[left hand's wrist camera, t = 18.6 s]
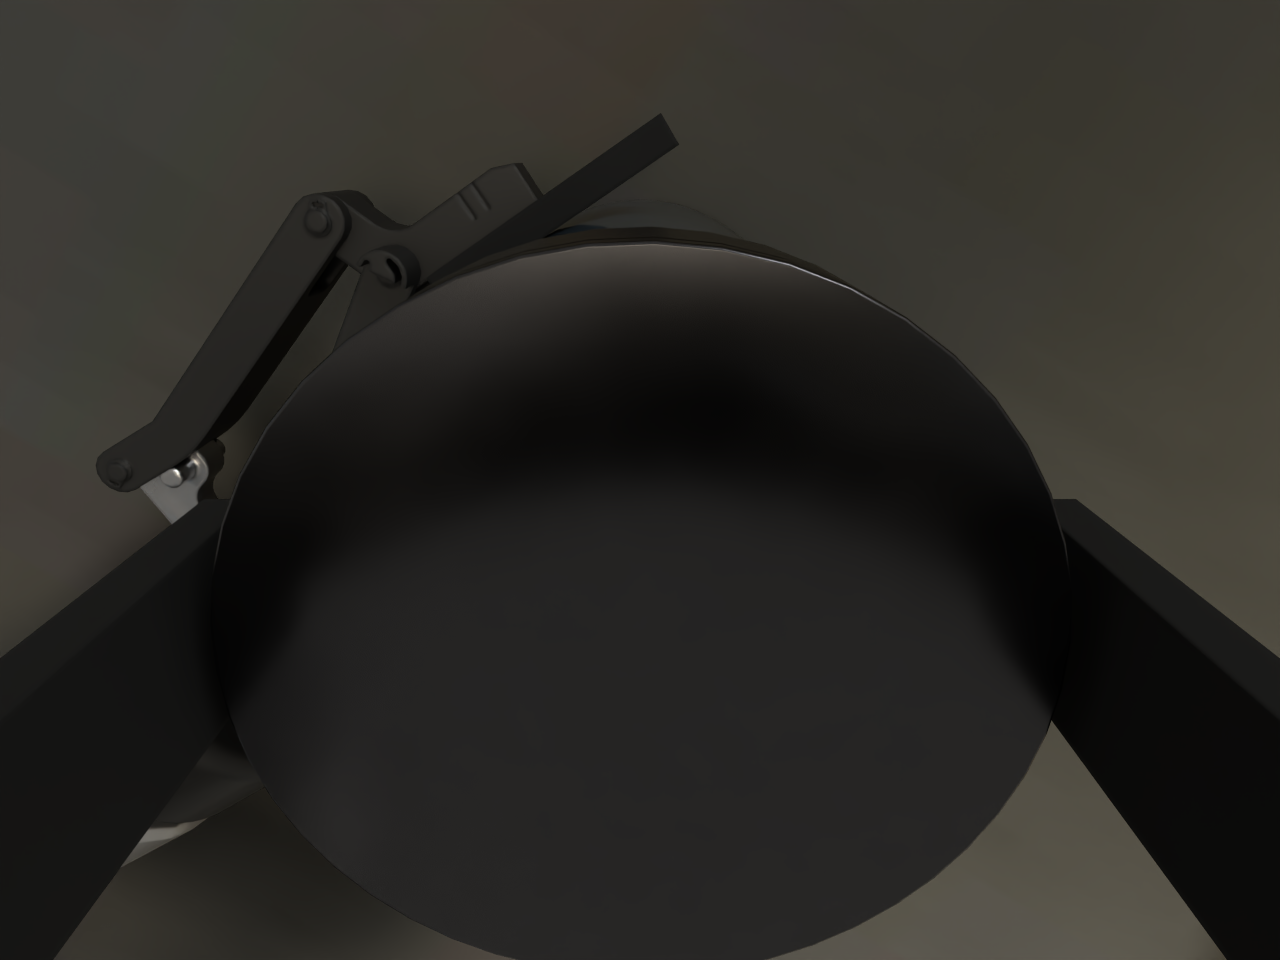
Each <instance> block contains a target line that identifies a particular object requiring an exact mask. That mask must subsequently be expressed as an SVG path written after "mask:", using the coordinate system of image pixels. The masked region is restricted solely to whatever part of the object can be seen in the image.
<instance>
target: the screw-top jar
mask: <svg viewBox="0 0 1280 960" xmlns="http://www.w3.org/2000/svg"><path fill="white" fill-rule="evenodd" d="M629 227H663V228H673V229H684V230H694V231H705V232H712V233H716V234H720V235H724V236H729V237H733V238H737V239H741V240H744V239H743V238H741V237H740V236H739V235H737V234H736V233H735V232H733V231H732V230H731V229H729V228H728V227H726V226H725V225H723V224H722V223H720V222H719V221H717V220H715V219H713V218H711V217H709V216H707V215H705V214H703V213H701V212H699V211H697V210H694V209H691V208H688V207H685V206H682V205H679V204H673V203H668V202H663V201H655V200H628V201H617V202H612V203H608V204H604V205H600V206H596V207H593V208H590V209H588V210H585V211H583V212H580V213H579V214H577V215H576V216H574V217H573V218H572V219H570V220H569V221H567V222H566V223H564V224H563V225H561V226H560V227H559V228H557V229H556V230H554V231H553V232H551V233H550V234H548V235H547V236H545V237H544V238H548V237H553V236H559V235H564V234H570V233H575V232H581V231H586V230H592V229H605V228H629Z"/></svg>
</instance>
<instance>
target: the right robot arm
mask: <svg viewBox="0 0 1280 960" xmlns="http://www.w3.org/2000/svg"><path fill="white" fill-rule="evenodd" d="M678 145H679V144H678V142H677V140H676V139H675V137H674V135H673V133H672V132H671V130H670V128H669V126H668V125H667V123H666V121H665V120H664V118H663V116H662V114H661V113H660V114H659V115H657V116H656V117H655V118H653V119H652V120H650V121H649V122H647V123H646V124H645V125H643V126H642V127H640V128H639V129H638V130H636V131H635V132H633V133H632V134H630V135H629V136H628V137H626V138H625V139H623V140H622V141H620V142H619V143H618V144H616V145H615V146H613V147H612V148H610V149H609V150H608V151H606V152H605V153H603V154H602V155H600V156H599V157H598V158H596V159H595V160H593V161H592V162H591V163H589V164H588V165H586V166H585V167H583V168H582V169H581V170H579V171H578V172H576V173H575V174H573V175H572V176H571V177H569V178H568V179H566V180H565V181H563V182H562V183H561V184H559V185H558V186H556V187H555V188H553V189H552V190H551V191H549V192H548V193H546V194H545V195H544V196H543V194H542V193H541V191H540V190H539V188H538V187H537V185H536V183H535V182H534V180H533V179H532V177H531V176H530V174H529V173H528V171H527V170H526V168H525V167H524V165H523V163H513V164H508V165H504V166H499V167H494V168H491V169H489V170H488V171H487V172H485V173H484V174H482V175H481V176H480V177H478V178H477V179H475V180H474V181H473V182H472V183H470V184H469V185H467V186H466V187H464V188H463V189H462V190H460V191H459V192H458V193H456V194H455V195H453V196H452V197H451V198H449V199H448V200H446V201H445V202H444V203H442V204H441V205H439V206H438V207H437V208H435V209H434V210H433V211H431V212H430V213H428V214H427V215H426V216H424V217H423V218H421V219H420V220H419V221H417V222H416V223H415V224H413V225H412V226H405V225H402V224H398V223H396V222H395V221H393V220H391V219H390V218H388V217H387V216H385V215H384V214H383V213H381V212H380V211H379V210H377V209H376V208H375V207H374V206H373V203H372V202H371V201H370V200H369V199H368V197H367V196H366V195H364V194H362V193H360V192H358V191H353V190H343V191H333V192H324V193H315V194H310V195H307V196H304V197H302V198H301V199H300V200H299V201H298V202H297V203H296V204H295V206H294V207H293V209H292V210H291V212H290V213H289V215H288V216H287V218H286V219H285V221H284V223H283V224H282V226H281V227H280V229H279V230H278V232H277V233H276V235H275V236H274V238H273V239H272V241H271V242H270V244H269V245H268V247H267V248H266V250H265V251H264V253H263V254H262V256H261V257H260V259H259V261H258V262H257V264H256V265H255V267H254V268H253V270H252V271H251V273H250V274H249V276H248V277H247V279H246V280H245V282H244V283H243V285H242V286H241V288H240V289H239V291H238V292H237V294H236V295H235V297H234V299H233V300H232V302H231V303H230V305H229V306H228V308H227V309H226V311H225V312H224V314H223V315H222V317H221V318H220V320H219V321H218V323H217V324H216V326H215V327H214V329H213V330H212V332H211V333H210V335H209V337H208V338H207V340H206V341H205V343H204V344H203V346H202V347H201V349H200V350H199V352H198V353H197V355H196V356H195V358H194V359H193V361H192V362H191V364H190V365H189V367H188V368H187V370H186V371H185V373H184V375H183V376H182V378H181V379H180V381H179V382H178V384H177V385H176V387H175V388H174V390H173V391H172V393H171V394H170V396H169V397H168V399H167V400H166V402H165V403H164V405H163V406H162V408H161V409H160V411H159V413H158V414H157V416H156V417H155V419H154V420H153V421H152V422H151V423H149V424H148V425H146V426H144V427H143V428H141V429H140V430H138V431H136V432H135V433H133V434H131V435H130V436H128V437H127V438H125V439H123V440H122V441H120V442H119V443H117V444H115V445H114V446H112V447H110V448H109V449H107V450H106V451H104V452H103V453H102V454H101V455H100V456H99V457H98V459H97V463H96V469H97V474H98V475H99V477H100V479H101V480H102V482H104V483H105V484H106V485H107V486H108V487H109V488H111V489H114V490H116V491H119V492H130V491H133V490H136V489H138V488H139V487H140V488H141V489H142V490H143V491H144V492H145V494H146V495H147V496H148V497H149V498H150V499H151V501H152V502H153V503H154V504H155V505H156V506H157V507H158V509H159V510H160V511H161V512H162V513H163V514H164V516H165V517H166V518H167V519H168V520H169V521H170V523H171V524H173V523H174V522H175V521H177V520H178V519H179V518H181V517H182V516H183V515H184V514H186V513H187V512H188V511H189V510H191V509H192V508H193V507H195V506H196V505H197V504H198V503H200V502H201V501H202V500H204V499H218V498H217V496H216V495H215V493H214V489H213V481H214V478H215V476H216V475H217V474H218V473H219V472H220V470H221V469H222V468H223V465H224V453H225V446H224V444H223V443H222V442H221V441H220V440H218V439H216V438H218V437H219V436H220V435H222V434H223V433H225V432H226V431H228V430H229V429H230V428H231V427H232V426H233V425H234V424H235V423H236V422H237V421H238V420H239V419H240V418H241V417H242V415H243V414H244V413H245V412H246V411H247V409H248V408H249V406H250V405H251V404H252V402H253V401H254V399H255V398H256V396H257V395H258V394H259V392H260V391H261V389H262V388H263V386H264V385H265V384H266V382H267V381H268V379H269V378H270V376H271V375H272V374H273V372H274V371H275V369H276V368H277V366H278V365H279V364H280V362H281V361H282V359H283V358H284V356H285V355H286V354H287V352H288V351H289V349H290V348H291V346H292V345H293V344H294V342H295V341H296V339H297V338H298V336H299V335H300V334H301V332H302V331H303V329H304V328H305V326H306V325H307V324H308V322H309V321H310V319H311V318H312V316H313V315H314V314H315V312H316V311H317V309H318V308H319V306H320V305H321V304H322V302H323V301H324V299H325V298H326V296H327V295H328V294H329V292H330V291H331V289H332V288H333V286H334V285H335V284H336V282H337V281H338V279H339V278H340V276H341V275H342V274H343V272H344V271H345V269H346V268H347V266H348V265H349V266H350V267H352V268H353V269H355V270H356V271H357V272H359V273H360V274H361V275H360V278H359V281H358V284H357V286H356V289H355V292H354V295H353V297H352V300H351V303H350V306H349V308H348V311H347V314H346V316H345V319H344V322H343V325H342V327H341V330H340V333H339V336H338V338H337V341H336V344H335V346H334V349H333V351H334V350H336V349H337V348H338V347H339V346H340V345H341V344H342V343H343V342H344V341H345V340H346V339H348V338H349V337H351V336H352V335H354V334H355V333H357V332H358V331H359V330H361V329H362V328H364V327H365V326H367V325H368V324H370V323H371V322H373V321H374V320H376V319H377V318H378V317H380V316H381V315H383V314H384V313H386V312H387V311H389V310H390V309H392V308H393V307H394V306H396V305H397V304H399V303H401V302H402V301H404V300H406V299H407V298H409V297H411V296H412V295H414V294H416V293H417V292H419V291H421V290H422V289H424V288H426V287H427V286H429V285H431V284H432V283H434V282H436V281H437V280H439V279H441V278H443V277H445V276H447V275H449V274H451V273H454V272H456V271H458V270H460V269H462V268H464V267H466V266H468V265H470V264H472V263H474V262H476V261H478V260H480V259H482V258H484V257H486V256H489V255H492V254H495V253H498V252H501V251H504V250H507V249H510V248H513V247H516V246H519V245H523V244H526V243H529V242H532V241H535V240H538V239H542V238H544V237H545V236H547V235H548V234H550V233H551V232H553V231H554V230H556V229H557V228H559V227H560V226H561V225H563V224H564V223H566V222H567V221H569V220H570V219H572V218H573V217H574V216H576V215H577V214H579V213H580V212H582V211H583V210H585V209H586V208H588V207H589V206H590V205H592V204H593V203H595V202H596V201H598V200H599V199H601V198H602V197H604V196H605V195H606V194H608V193H609V192H611V191H612V190H614V189H615V188H617V187H618V186H619V185H621V184H622V183H624V182H625V181H627V180H628V179H630V178H631V177H633V176H634V175H635V174H637V173H638V172H640V171H641V170H643V169H644V168H646V167H647V166H649V165H650V164H651V163H653V162H654V161H656V160H657V159H659V158H660V157H662V156H663V155H664V154H666V153H667V152H669V151H670V150H672V149H673V148H675V147H676V146H678ZM264 787H265V786H264V785H263V783H262V781H261V780H260V778H259V776H258V775H257V773H256V772H255V770H254V768H253V767H252V765H251V763H250V762H249V760H248V758H247V756H246V754H245V751H244V749H243V747H242V745H241V742H240V740H239V738H238V736H237V733H236V731H235V729H234V727H233V724H232V722H231V720H230V719H229V720H228V721H227V723H226V724H225V726H224V727H223V728H222V730H221V731H220V732H219V734H218V735H217V736H216V738H215V739H214V741H213V742H212V743H211V745H210V746H209V747H208V749H207V750H206V751H205V753H204V754H203V756H202V757H201V758H200V760H199V761H198V762H197V764H196V765H195V766H194V768H193V769H192V771H191V772H190V773H189V775H188V776H187V777H186V779H185V780H184V781H183V783H182V784H181V786H180V787H179V788H178V790H177V791H176V792H175V794H174V795H173V796H172V798H171V799H170V801H169V802H168V803H167V805H166V806H165V807H164V809H163V810H162V812H161V813H160V814H159V816H158V817H157V818H156V820H155V821H154V822H153V824H152V825H151V827H150V828H149V829H148V831H147V832H146V833H145V835H144V836H143V837H142V839H141V840H140V842H139V843H138V844H137V846H136V847H135V848H134V850H133V851H132V852H131V854H130V855H129V857H128V858H127V859H126V861H125V862H124V863H123V865H122V866H121V867H123V866H125V865H126V864H128V863H130V862H132V861H134V860H136V859H138V858H140V857H142V856H143V855H145V854H147V853H149V852H151V851H153V850H155V849H157V848H158V847H160V846H162V845H164V844H166V843H168V842H170V841H172V840H173V839H175V838H177V837H179V836H181V835H183V834H185V833H187V832H188V831H190V830H192V829H194V828H195V827H196V826H198V825H199V824H200V823H202V822H203V821H204V820H206V819H207V818H209V817H211V816H214V815H216V814H218V813H220V812H222V811H223V810H225V809H227V808H229V807H231V806H232V805H234V804H236V803H238V802H239V801H241V800H243V799H245V798H246V797H248V796H250V795H252V794H253V793H255V792H257V791H259V790H261V789H262V788H264ZM121 867H120V868H121Z"/></svg>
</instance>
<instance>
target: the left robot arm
mask: <svg viewBox="0 0 1280 960" xmlns="http://www.w3.org/2000/svg"><path fill="white" fill-rule="evenodd" d="M1053 501H1054V505H1055V508H1056V511H1057V515H1058V518H1059V522H1060V525H1061V528H1062V532H1063V535H1064V539H1065V542H1066V549H1067V557H1068V565H1069V572H1070V580H1071V588H1072V617H1071V644H1070V649H1069V655H1068V660H1067V665H1066V671H1065V676H1064V681H1063V686H1062V691H1061V694H1060V697H1059V700H1058V702H1057V705H1056V708H1055V711H1054V714H1053V717H1052V721H1053V723H1054V724H1055V726H1056V727H1057V728H1058V730H1059V731H1060V732H1061V734H1062V735H1063V736H1064V738H1065V739H1066V741H1067V742H1068V743H1069V745H1070V746H1071V747H1072V749H1073V750H1074V751H1075V753H1076V754H1077V756H1078V757H1079V758H1080V760H1081V761H1082V762H1083V764H1084V765H1085V766H1086V768H1087V769H1088V771H1089V772H1090V773H1091V775H1092V776H1093V777H1094V779H1095V780H1096V781H1097V783H1098V784H1099V786H1100V787H1101V788H1102V790H1103V791H1104V792H1105V794H1106V795H1107V797H1108V798H1109V799H1110V801H1111V802H1112V803H1113V805H1114V806H1115V807H1116V809H1117V810H1118V812H1119V813H1120V814H1121V816H1122V817H1123V818H1124V820H1125V821H1126V822H1127V824H1128V825H1129V827H1130V828H1131V829H1132V831H1133V832H1134V833H1135V835H1136V836H1137V837H1138V839H1139V840H1140V842H1141V843H1142V844H1143V846H1144V847H1145V848H1146V850H1147V851H1148V852H1149V854H1150V855H1151V857H1152V858H1153V859H1154V861H1155V862H1156V863H1157V865H1158V866H1159V867H1160V869H1161V870H1162V872H1163V873H1164V874H1165V876H1166V877H1167V878H1168V880H1169V881H1170V882H1171V884H1172V885H1173V887H1174V888H1175V889H1176V891H1177V892H1178V893H1179V895H1180V896H1181V898H1182V899H1183V900H1184V902H1185V903H1186V904H1187V906H1188V907H1189V908H1190V910H1191V911H1192V913H1193V914H1194V915H1195V917H1196V918H1197V919H1198V921H1199V922H1200V923H1201V925H1202V926H1203V928H1204V929H1205V930H1206V932H1207V933H1208V934H1209V936H1210V937H1211V938H1212V940H1213V941H1214V943H1215V944H1216V945H1217V947H1218V948H1219V949H1220V951H1221V952H1222V953H1223V955H1224V956H1225V958H1226V959H1227V960H1280V658H1279V657H1277V656H1276V655H1275V654H1273V653H1272V652H1271V651H1270V650H1268V649H1267V648H1266V647H1265V646H1263V645H1262V644H1261V643H1259V642H1258V641H1257V640H1256V639H1254V638H1253V637H1252V636H1250V635H1249V634H1248V633H1247V632H1245V631H1244V630H1243V629H1241V628H1240V627H1239V626H1238V625H1236V624H1235V623H1234V622H1233V621H1231V620H1230V619H1229V618H1227V617H1226V616H1225V615H1224V614H1222V613H1221V612H1220V611H1218V610H1217V609H1216V608H1215V607H1213V606H1212V605H1211V604H1209V603H1208V602H1207V601H1206V600H1204V599H1203V598H1202V597H1201V596H1199V595H1198V594H1197V593H1195V592H1194V591H1193V590H1192V589H1190V588H1189V587H1188V586H1186V585H1185V584H1184V583H1183V582H1181V581H1180V580H1179V579H1178V578H1176V577H1175V576H1174V575H1172V574H1171V573H1170V572H1169V571H1167V570H1166V569H1165V568H1163V567H1162V566H1161V565H1160V564H1158V563H1157V562H1156V561H1154V560H1153V559H1152V558H1151V557H1149V556H1148V555H1147V554H1146V553H1144V552H1143V551H1142V550H1140V549H1139V548H1138V547H1137V546H1135V545H1134V544H1133V543H1131V542H1130V541H1129V540H1128V539H1126V538H1125V537H1124V536H1122V535H1121V534H1120V533H1119V532H1117V531H1116V530H1115V529H1114V528H1112V527H1111V526H1110V525H1108V524H1107V523H1106V522H1105V521H1103V520H1102V519H1101V518H1099V517H1098V516H1097V515H1096V514H1094V513H1093V512H1092V511H1090V510H1089V509H1088V508H1087V507H1085V506H1084V505H1083V504H1082V503H1080V502H1079V501H1078V500H1076V499H1053ZM229 502H230V499H204V500H202V501H201V502H200V503H198V504H197V505H196V506H195V507H193V508H192V509H191V510H189V511H188V512H187V513H186V514H184V515H183V516H182V517H181V518H179V519H178V520H177V521H175V522H174V523H173V524H172V525H170V526H169V527H168V528H166V529H165V530H164V531H163V532H161V533H160V534H159V535H158V536H156V537H155V538H154V539H152V540H151V541H150V542H149V543H147V544H146V545H145V546H143V547H142V548H141V549H140V550H138V551H137V552H136V553H134V554H133V555H132V556H131V557H129V558H128V559H127V560H126V561H124V562H123V563H122V564H120V565H119V566H118V567H117V568H115V569H114V570H113V571H111V572H110V573H109V574H108V575H106V576H105V577H104V578H102V579H101V580H100V581H99V582H97V583H96V584H95V585H94V586H92V587H91V588H90V589H88V590H87V591H86V592H85V593H83V594H82V595H81V596H79V597H78V598H77V599H76V600H74V601H73V602H72V603H70V604H69V605H68V606H67V607H65V608H64V609H63V610H62V611H60V612H59V613H58V614H56V615H55V616H54V617H53V618H51V619H50V620H49V621H47V622H46V623H45V624H44V625H42V626H41V627H40V628H39V629H37V630H36V631H35V632H33V633H32V634H31V635H30V636H28V637H27V638H26V639H24V640H23V641H22V642H21V643H19V644H18V645H17V646H15V647H14V648H13V649H12V650H10V651H9V652H8V653H7V654H5V655H4V656H3V657H1V658H0V960H53V959H54V958H55V956H56V955H57V953H58V952H59V951H60V949H61V948H62V947H63V945H64V944H65V943H66V941H67V940H68V938H69V937H70V936H71V934H72V933H73V932H74V930H75V929H76V928H77V926H78V925H79V923H80V922H81V921H82V919H83V918H84V917H85V915H86V914H87V913H88V911H89V910H90V908H91V907H92V906H93V904H94V903H95V902H96V900H97V899H98V897H99V896H100V895H101V893H102V892H103V891H104V889H105V888H106V887H107V885H108V884H109V882H110V881H111V880H112V878H113V877H114V876H115V874H116V873H117V872H118V870H119V869H120V867H121V866H122V865H123V863H124V862H125V861H126V859H127V858H128V857H129V855H130V854H131V852H132V851H133V850H134V848H135V847H136V846H137V844H138V843H139V842H140V840H141V839H142V837H143V836H144V835H145V833H146V832H147V831H148V829H149V828H150V827H151V825H152V824H153V822H154V821H155V820H156V818H157V817H158V816H159V814H160V813H161V812H162V810H163V809H164V807H165V806H166V805H167V803H168V802H169V801H170V799H171V798H172V796H173V795H174V794H175V792H176V791H177V790H178V788H179V787H180V786H181V784H182V783H183V781H184V780H185V779H186V777H187V776H188V775H189V773H190V772H191V771H192V769H193V768H194V766H195V765H196V764H197V762H198V761H199V760H200V758H201V757H202V756H203V754H204V753H205V751H206V750H207V749H208V747H209V746H210V745H211V743H212V742H213V741H214V739H215V738H216V736H217V735H218V734H219V732H220V731H221V730H222V728H223V727H224V726H225V724H226V723H227V721H228V720H229V719H230V718H229V714H228V711H227V707H226V704H225V700H224V697H223V693H222V690H221V686H220V683H219V679H218V675H217V672H216V664H215V656H214V648H213V640H212V633H211V625H210V622H211V589H212V571H213V566H214V561H215V556H216V550H217V545H218V540H219V535H220V529H221V524H222V521H223V518H224V516H225V513H226V510H227V507H228V505H229Z"/></svg>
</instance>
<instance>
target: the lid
mask: <svg viewBox="0 0 1280 960" xmlns="http://www.w3.org/2000/svg"><path fill="white" fill-rule="evenodd" d="M1071 617H1072V588H1071V580H1070V572H1069V565H1068V557H1067V549H1066V542H1065V539H1064V535H1063V532H1062V528H1061V525H1060V522H1059V518H1058V515H1057V511H1056V508H1055V505H1054V501H1053V498H1052V494H1051V492H1050V490H1049V488H1048V486H1047V483H1046V481H1045V479H1044V477H1043V475H1042V473H1041V471H1040V469H1039V467H1038V465H1037V463H1036V460H1035V458H1034V456H1033V454H1032V452H1031V450H1030V448H1029V446H1028V444H1027V443H1026V441H1025V440H1024V438H1023V437H1022V435H1021V434H1020V432H1019V431H1018V429H1017V428H1016V427H1015V425H1014V424H1013V422H1012V421H1011V419H1010V418H1009V416H1008V415H1007V414H1006V412H1005V411H1004V409H1003V408H1002V406H1001V405H1000V403H999V402H998V401H997V399H996V398H995V397H994V396H993V395H992V394H991V393H990V391H989V390H988V389H987V388H986V387H985V386H984V385H983V384H982V383H981V382H980V381H979V380H978V379H977V378H976V377H975V376H974V375H973V374H972V373H971V371H970V370H969V369H968V368H967V367H966V366H965V365H964V364H963V363H962V362H961V361H960V360H959V359H958V358H957V357H956V356H955V355H954V354H953V353H952V352H950V351H949V350H948V349H946V348H945V347H944V346H943V345H941V344H940V343H939V342H937V341H936V340H935V339H934V338H932V337H931V336H930V335H928V334H927V333H926V332H924V331H923V330H922V329H921V328H919V327H918V326H917V325H915V324H914V323H913V322H912V321H910V320H909V319H908V318H906V317H905V316H903V315H901V314H900V313H898V312H896V311H895V310H893V309H891V308H890V307H888V306H886V305H885V304H883V303H881V302H880V301H878V300H876V299H875V298H873V297H871V296H870V295H868V294H866V293H865V292H863V291H861V290H859V289H858V288H856V287H854V286H852V285H851V284H849V283H847V282H845V281H843V280H842V279H840V278H838V277H836V276H835V275H833V274H831V273H829V272H827V271H826V270H824V269H822V268H820V267H819V266H817V265H815V264H812V263H809V262H807V261H804V260H802V259H799V258H797V257H794V256H791V255H789V254H786V253H784V252H781V251H779V250H776V249H774V248H771V247H768V246H766V245H762V244H758V243H754V242H750V241H746V240H741V239H737V238H733V237H729V236H724V235H720V234H716V233H712V232H705V231H694V230H684V229H673V228H663V227H629V228H605V229H592V230H586V231H581V232H575V233H570V234H564V235H559V236H553V237H548V238H542V239H538V240H535V241H532V242H529V243H526V244H523V245H519V246H516V247H513V248H510V249H507V250H504V251H501V252H498V253H495V254H492V255H489V256H486V257H484V258H482V259H480V260H478V261H476V262H474V263H472V264H470V265H468V266H466V267H464V268H462V269H460V270H458V271H456V272H454V273H451V274H449V275H447V276H445V277H443V278H441V279H439V280H437V281H436V282H434V283H432V284H431V285H429V286H427V287H426V288H424V289H422V290H421V291H419V292H417V293H416V294H414V295H412V296H411V297H409V298H407V299H406V300H404V301H402V302H401V303H399V304H397V305H396V306H394V307H393V308H392V309H390V310H389V311H387V312H386V313H384V314H383V315H381V316H380V317H378V318H377V319H376V320H374V321H373V322H371V323H370V324H368V325H367V326H365V327H364V328H362V329H361V330H359V331H358V332H357V333H355V334H354V335H352V336H351V337H349V338H348V339H346V340H345V341H344V342H343V343H342V344H341V345H340V346H339V347H338V348H337V349H336V350H334V351H333V352H332V353H331V354H330V355H329V356H328V357H327V358H326V359H325V360H324V361H323V362H322V363H321V364H319V365H318V366H317V367H316V368H315V369H314V370H313V371H312V372H311V373H310V374H309V375H308V376H307V377H306V378H304V379H303V380H302V381H301V383H300V384H299V385H298V387H297V388H296V389H295V390H294V392H293V393H292V394H291V395H290V397H289V398H288V399H287V401H286V402H285V403H284V404H283V406H282V407H281V408H280V409H279V411H278V412H277V413H276V414H275V416H274V417H273V418H272V420H271V421H270V422H269V423H268V425H267V426H266V428H265V430H264V431H263V433H262V435H261V437H260V438H259V440H258V442H257V444H256V446H255V447H254V449H253V451H252V453H251V455H250V456H249V458H248V460H247V462H246V464H245V465H244V467H243V469H242V471H241V472H240V474H239V477H238V480H237V483H236V485H235V488H234V491H233V494H232V496H231V499H230V502H229V505H228V507H227V510H226V513H225V516H224V518H223V521H222V524H221V529H220V535H219V540H218V545H217V550H216V556H215V561H214V566H213V571H212V589H211V622H210V625H211V633H212V640H213V648H214V656H215V664H216V672H217V675H218V679H219V683H220V686H221V690H222V693H223V697H224V700H225V704H226V707H227V711H228V714H229V718H230V720H231V722H232V724H233V727H234V729H235V731H236V733H237V736H238V738H239V740H240V742H241V745H242V747H243V749H244V751H245V754H246V756H247V758H248V760H249V762H250V763H251V765H252V767H253V768H254V770H255V772H256V773H257V775H258V776H259V778H260V780H261V781H262V783H263V785H264V786H265V788H266V789H267V791H268V793H269V794H270V796H271V797H272V799H273V800H274V802H275V803H276V804H277V805H278V807H279V808H280V809H281V810H282V811H283V813H284V814H285V815H286V816H287V818H288V819H289V820H290V821H291V823H292V824H293V825H294V826H295V827H296V829H297V830H298V831H299V832H300V834H301V835H302V836H303V837H304V838H305V839H306V840H307V841H308V842H309V843H310V844H311V845H312V846H314V847H315V848H316V849H317V850H318V851H319V852H320V853H321V854H322V855H323V856H324V857H325V858H326V859H327V860H328V861H329V862H330V863H331V864H332V865H333V866H334V867H335V868H337V869H338V870H339V871H341V872H342V873H343V874H344V875H346V876H347V877H348V878H350V879H351V880H352V881H354V882H355V883H356V884H358V885H359V886H360V887H361V888H363V889H364V890H365V891H367V892H368V893H369V894H371V895H372V896H374V897H375V898H377V899H379V900H380V901H382V902H384V903H385V904H387V905H388V906H390V907H392V908H393V909H395V910H397V911H398V912H400V913H402V914H403V915H405V916H407V917H408V918H410V919H412V920H414V921H416V922H418V923H420V924H422V925H424V926H426V927H429V928H431V929H433V930H435V931H437V932H439V933H441V934H443V935H445V936H447V937H450V938H452V939H454V940H457V941H460V942H463V943H465V944H468V945H471V946H474V947H477V948H479V949H482V950H485V951H488V952H491V953H493V954H496V955H500V956H504V957H508V958H512V959H516V960H768V959H772V958H775V957H778V956H781V955H784V954H788V953H791V952H794V951H797V950H800V949H803V948H806V947H810V946H813V945H815V944H818V943H820V942H822V941H825V940H827V939H829V938H832V937H834V936H836V935H839V934H841V933H843V932H846V931H848V930H850V929H853V928H855V927H857V926H859V925H861V924H862V923H864V922H866V921H868V920H870V919H871V918H873V917H875V916H877V915H879V914H880V913H882V912H884V911H886V910H888V909H889V908H891V907H893V906H895V905H897V904H898V903H899V902H901V901H902V900H904V899H905V898H907V897H908V896H909V895H911V894H912V893H914V892H915V891H917V890H918V889H919V888H921V887H922V886H924V885H925V884H927V883H928V882H929V881H931V880H932V879H934V878H935V877H936V876H937V875H938V874H939V873H940V872H942V871H943V870H944V869H945V868H946V867H947V866H948V865H950V864H951V863H952V862H953V861H954V860H955V859H956V858H957V857H959V856H960V855H961V854H962V853H963V852H964V851H965V850H967V849H968V848H969V847H970V846H971V844H972V843H973V842H974V841H975V840H976V839H977V838H978V837H979V835H980V834H981V833H982V832H983V831H984V830H985V829H986V828H987V827H988V825H989V824H990V823H991V822H992V821H993V820H994V819H995V818H996V816H997V815H998V814H999V813H1000V812H1001V810H1002V809H1003V807H1004V806H1005V804H1006V803H1007V801H1008V800H1009V799H1010V797H1011V796H1012V794H1013V793H1014V791H1015V790H1016V788H1017V787H1018V785H1019V784H1020V783H1021V781H1022V780H1023V778H1024V777H1025V775H1026V773H1027V771H1028V769H1029V767H1030V766H1031V764H1032V762H1033V760H1034V758H1035V756H1036V754H1037V752H1038V750H1039V748H1040V746H1041V744H1042V742H1043V740H1044V738H1045V736H1046V734H1047V731H1048V728H1049V726H1050V723H1051V720H1052V717H1053V714H1054V711H1055V708H1056V705H1057V702H1058V700H1059V697H1060V694H1061V691H1062V686H1063V681H1064V676H1065V671H1066V665H1067V660H1068V655H1069V649H1070V644H1071Z"/></svg>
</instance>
